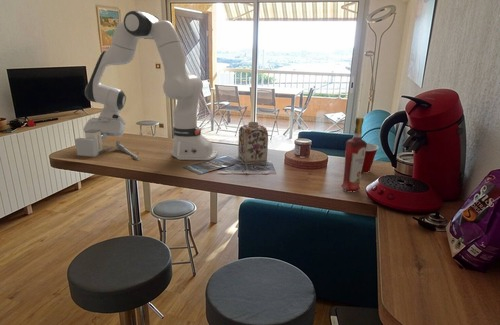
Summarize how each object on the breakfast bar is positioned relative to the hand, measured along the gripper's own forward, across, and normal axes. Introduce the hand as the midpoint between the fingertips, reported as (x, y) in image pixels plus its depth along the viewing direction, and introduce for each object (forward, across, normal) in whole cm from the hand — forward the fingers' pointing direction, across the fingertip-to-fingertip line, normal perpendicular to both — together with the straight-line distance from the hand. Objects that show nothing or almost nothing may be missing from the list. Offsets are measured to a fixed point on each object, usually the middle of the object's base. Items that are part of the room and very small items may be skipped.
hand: (99, 141), depth 163 cm
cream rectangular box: (+6, 0, 0) cm, 6 cm away
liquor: (+20, +120, -12) cm, 122 cm away
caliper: (+6, +16, +3) cm, 17 cm away
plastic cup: (+2, +128, +5) cm, 128 cm away
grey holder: (+5, 0, +2) cm, 6 cm away
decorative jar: (-2, +76, +10) cm, 77 cm away
